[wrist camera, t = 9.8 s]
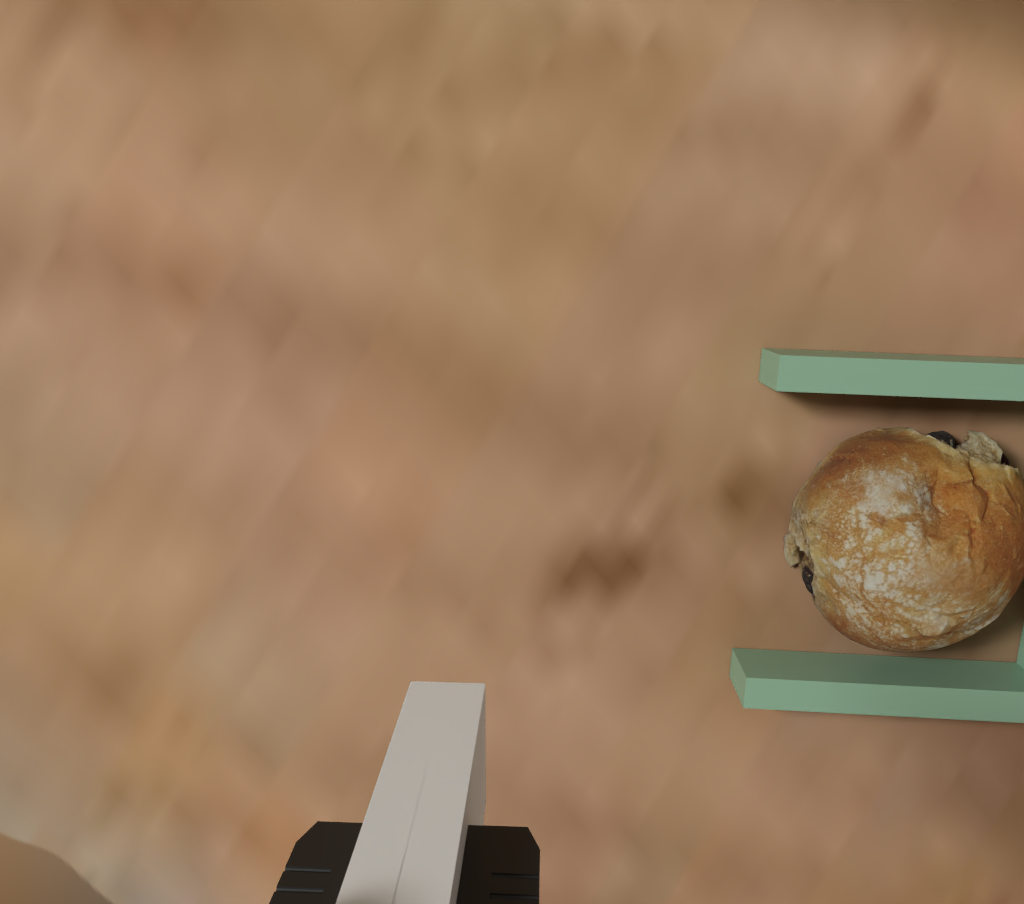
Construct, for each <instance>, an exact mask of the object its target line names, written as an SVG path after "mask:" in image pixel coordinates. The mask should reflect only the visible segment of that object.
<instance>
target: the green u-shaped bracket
mask: <svg viewBox="0 0 1024 904" xmlns="http://www.w3.org/2000/svg"><path fill="white" fill-rule="evenodd" d="M759 382H761V383H762V384H764V385H766V386H768V387H770V388H771V389H773V390H775V391H784V392H809V393H834V394H859V395H883V396H908V397H933V398H958V399H983V400H1008V401H1024V358H1006V357H979V356H953V355H927V354H901V353H875V352H849V351H823V350H797V349H771V348H762V354H761V364H760V374H759ZM730 679H731V681H732V683H733V686H734V688H735V690H736V692H737V695H738V697H739V699H740V702H741V704H742V706H743V708H753V709H772V710H790V711H809V712H828V713H846V714H865V715H884V716H902V717H921V718H939V719H958V720H977V721H995V722H1014V723H1024V623H1023V628H1022V634H1021V639H1020V645H1019V650H1018V656H1017V661H1016V662H997V661H977V660H958V659H938V658H919V657H899V656H880V655H860V654H840V653H821V652H801V651H782V650H762V649H743V648H732V656H731V666H730Z"/></svg>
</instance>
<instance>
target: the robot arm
mask: <svg viewBox="0 0 1024 904" xmlns="http://www.w3.org/2000/svg"><path fill="white" fill-rule="evenodd" d="M485 805H486V739H485V684H484V683H450V682H416V681H411V682H410V685H409V688H408V691H407V694H406V697H405V700H404V703H403V706H402V709H401V712H400V715H399V718H398V721H397V724H396V727H395V730H394V733H393V735H392V738H391V741H390V744H389V747H388V750H387V753H386V756H385V759H384V762H383V765H382V768H381V771H380V774H379V777H378V780H377V783H376V786H375V789H374V792H373V795H372V798H371V801H370V803H369V806H368V809H367V812H366V815H365V818H364V821H363V823H346V822H320V821H318V822H317V823H316V824H315V825H314V826H313V827H311V828H310V829H309V830H308V831H307V832H306V833H305V834H304V835H303V836H302V837H301V838H300V839H299V840H298V841H297V842H296V844H295V846H294V848H293V851H292V853H291V855H290V858H289V860H288V862H287V864H286V868H285V871H283V873H282V876H281V878H280V880H279V883H278V885H277V889H276V892H274V894H273V896H272V898H271V901H270V903H269V904H539V872H540V849H539V847H538V845H537V843H536V841H535V840H534V838H533V836H532V834H531V832H530V830H529V828H528V827H509V826H483V821H484V813H485Z"/></svg>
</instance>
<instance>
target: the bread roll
mask: <svg viewBox="0 0 1024 904" xmlns="http://www.w3.org/2000/svg"><path fill="white" fill-rule="evenodd" d="M967 432H968V434H969V435H967V436H966V437H965V438H964V440H965V442H963V443H961V444H959V445H956V443H955V440H954V438H953V437H952V436H951V435H950V434H949V433H948V432H945V431H939V432H932V433H929V434H927V435H923V434H920V433H919V432H917V431H915V430H914V429H913V428H908V427H907V428H901V427H896V428H889V429H880V428H876V429H874V430H872V431H868V432H865V433H862V434H859V435H857V436H854V437H851V438H849V439H847V440H845V441H843V442H841V443H839V444H838V445H836V447H835V449H834V450H833V451H831V452H830V453H829V454H828V455H827V456H826V457H825V458H824V460H822V461H821V462H819V463H818V466H817V468H816V469H815V471H814V472H813V474H812V475H811V476H810V477H809V479H808V480H807V481H806V482H805V483H804V485H803V486H802V488H801V489H800V491H799V492H798V494H797V496H796V498H795V500H794V502H793V506H792V515H791V521H790V525H789V529H788V531H789V533H787V534H786V535H785V536H784V554H785V558H786V560H787V562H788V564H789V566H790V567H793V566H796V565H798V566H799V569H800V572H801V574H802V578H803V581H804V583H805V585H806V588H807V589H808V591H809V592H810V593H811V594H812V600H813V601H814V604H815V605H816V607H817V608H818V610H819V611H820V612H821V614H822V615H823V616H824V618H825V619H826V620H827V621H828V622H829V623H830V624H831V625H832V626H833V627H834V628H835V629H836V630H838V631H839V632H840V633H842V634H843V635H845V636H846V637H848V638H849V639H851V640H853V641H855V642H858V643H860V644H863V645H865V646H867V647H871V648H874V649H880V650H886V651H901V652H914V651H922V650H933V649H938V648H942V647H945V646H948V645H951V644H954V643H957V642H960V641H961V640H963V639H965V638H967V637H969V636H972V635H974V634H975V633H977V632H978V631H979V630H980V629H982V628H984V627H986V626H987V625H988V624H990V623H991V622H993V621H994V620H996V619H997V618H998V617H999V616H1000V615H1001V613H1002V612H1003V610H1004V608H1005V607H1006V605H1007V604H1008V602H1009V601H1010V600H1011V598H1012V597H1013V595H1014V594H1015V592H1016V591H1017V589H1018V587H1019V585H1020V583H1021V581H1022V580H1023V578H1024V482H1023V480H1022V478H1021V475H1020V473H1019V470H1018V468H1013V467H1011V466H1009V464H1010V462H1009V460H1008V459H1007V458H1006V456H1005V455H1004V454H1003V450H1002V448H1001V447H1000V446H999V444H998V443H996V442H995V441H993V440H991V439H990V438H989V437H987V435H986V434H985V433H982V432H974V431H967ZM972 467H973V468H972Z"/></svg>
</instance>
